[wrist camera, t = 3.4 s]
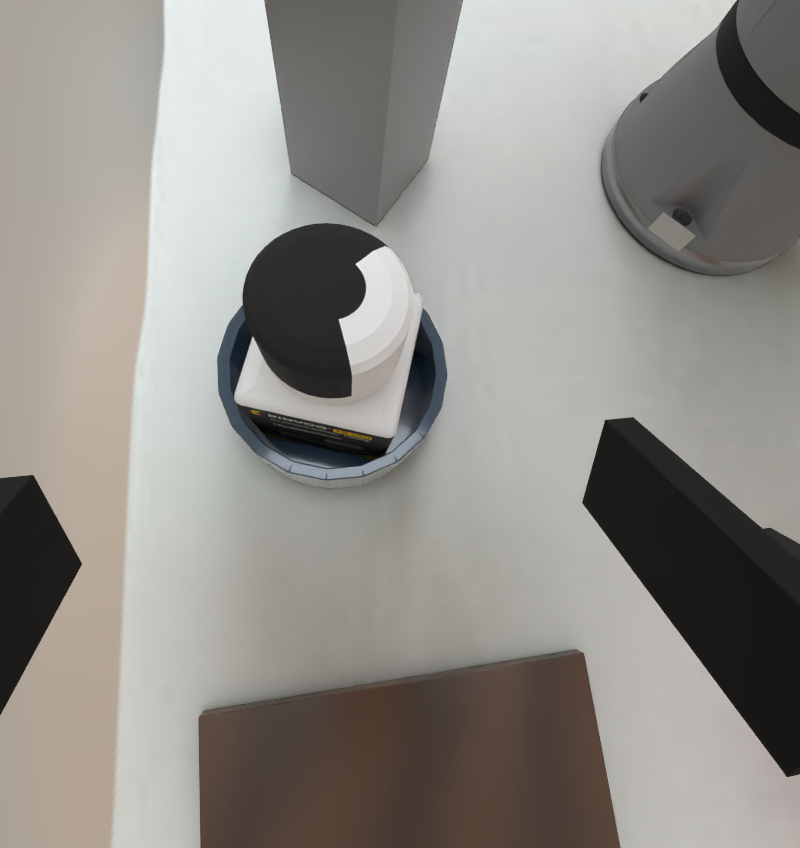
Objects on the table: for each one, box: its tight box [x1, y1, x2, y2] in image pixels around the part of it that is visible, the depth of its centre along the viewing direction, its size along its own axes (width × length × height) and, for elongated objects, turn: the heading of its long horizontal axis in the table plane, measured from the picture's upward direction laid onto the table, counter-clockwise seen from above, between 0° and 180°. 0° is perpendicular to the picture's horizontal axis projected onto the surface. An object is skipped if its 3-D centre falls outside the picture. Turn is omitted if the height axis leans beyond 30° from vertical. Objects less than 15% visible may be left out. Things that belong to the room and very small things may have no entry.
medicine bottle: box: [234, 223, 424, 459], centre depth 21 cm, size 7×7×12 cm
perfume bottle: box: [264, 0, 463, 226], centre depth 22 cm, size 7×7×18 cm
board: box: [199, 650, 620, 848], centre depth 22 cm, size 20×14×1 cm
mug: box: [217, 305, 447, 489], centre depth 25 cm, size 14×11×4 cm
